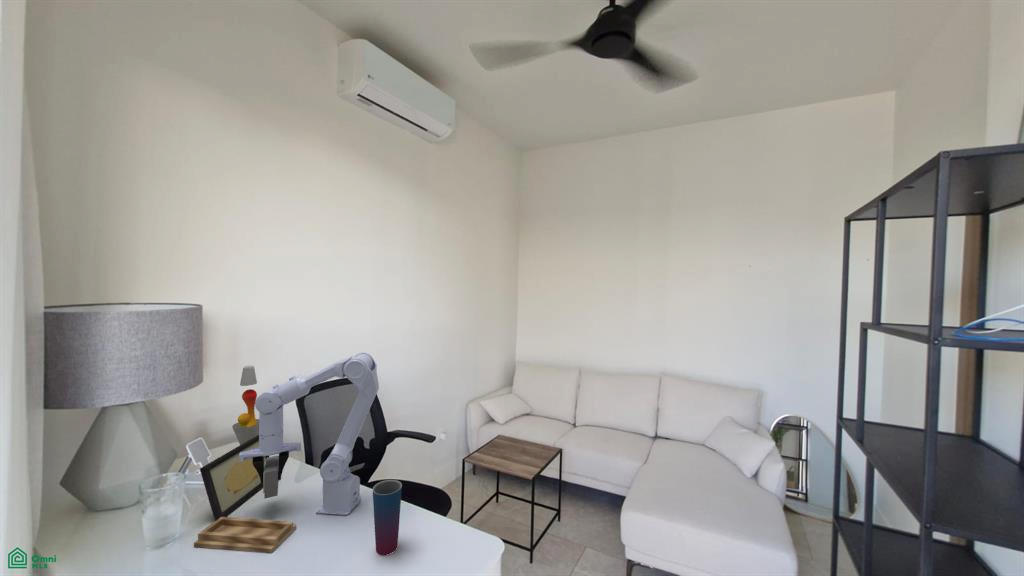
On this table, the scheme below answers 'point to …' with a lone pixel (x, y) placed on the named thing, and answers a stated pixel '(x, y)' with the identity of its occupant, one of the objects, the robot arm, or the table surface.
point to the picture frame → (231, 479)
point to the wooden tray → (245, 534)
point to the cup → (386, 515)
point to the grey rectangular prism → (271, 477)
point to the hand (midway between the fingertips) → (271, 480)
